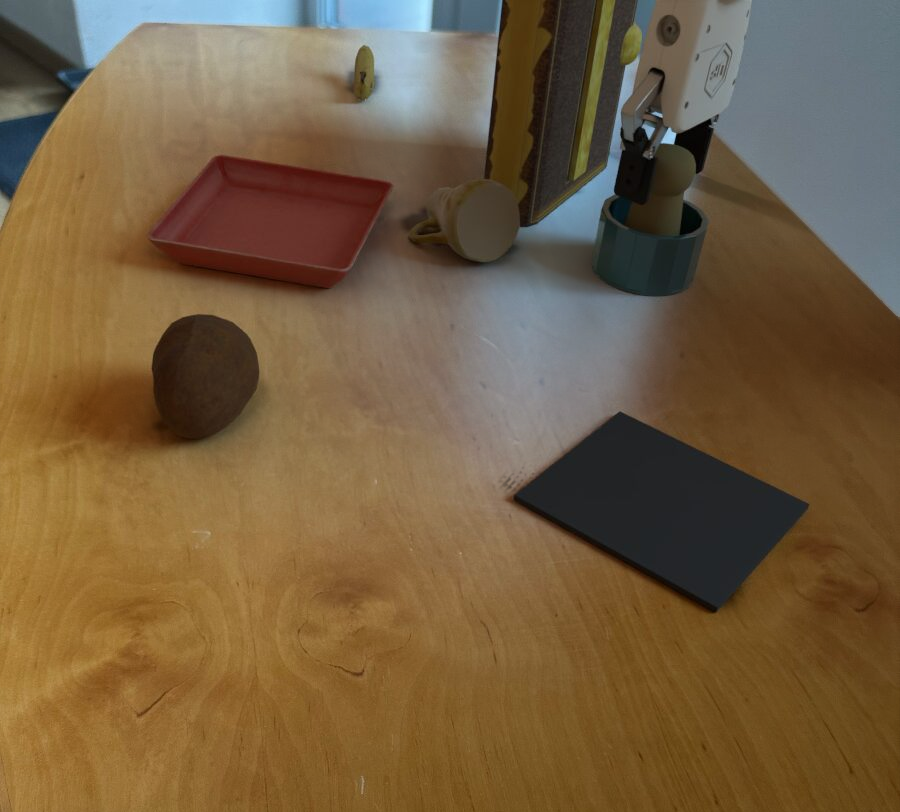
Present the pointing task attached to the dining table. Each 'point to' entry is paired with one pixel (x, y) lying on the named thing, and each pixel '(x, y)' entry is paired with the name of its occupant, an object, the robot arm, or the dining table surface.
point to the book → (556, 96)
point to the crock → (647, 251)
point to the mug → (472, 219)
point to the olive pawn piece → (665, 193)
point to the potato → (203, 374)
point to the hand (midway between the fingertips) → (658, 183)
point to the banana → (364, 73)
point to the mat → (664, 508)
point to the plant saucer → (271, 220)
